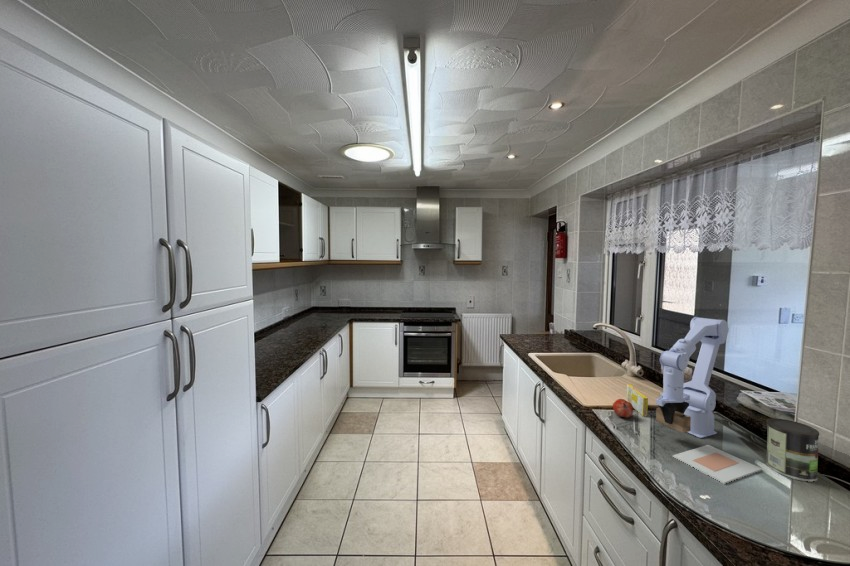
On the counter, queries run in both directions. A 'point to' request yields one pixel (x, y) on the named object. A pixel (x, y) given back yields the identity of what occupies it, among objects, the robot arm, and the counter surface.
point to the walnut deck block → (675, 421)
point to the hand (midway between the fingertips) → (672, 421)
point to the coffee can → (792, 449)
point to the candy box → (637, 400)
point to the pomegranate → (623, 408)
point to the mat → (717, 463)
